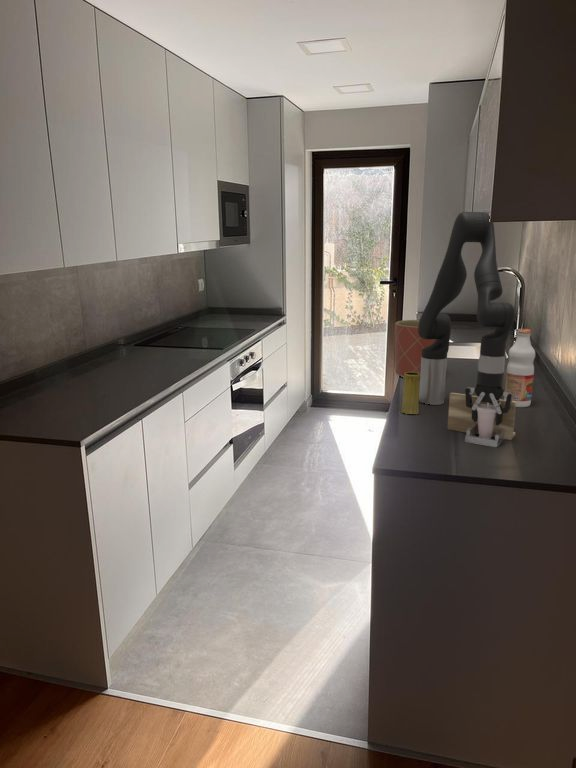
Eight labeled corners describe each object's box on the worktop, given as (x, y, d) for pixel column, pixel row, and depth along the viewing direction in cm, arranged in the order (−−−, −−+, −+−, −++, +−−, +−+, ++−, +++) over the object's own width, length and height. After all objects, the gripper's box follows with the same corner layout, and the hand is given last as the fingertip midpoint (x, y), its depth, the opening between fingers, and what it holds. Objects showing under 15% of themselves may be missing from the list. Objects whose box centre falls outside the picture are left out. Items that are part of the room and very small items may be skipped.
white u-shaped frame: (473, 433, 188) (473, 423, 187) (504, 438, 183) (505, 428, 182) (464, 441, 180) (465, 430, 179) (497, 447, 175) (498, 436, 175)
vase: (416, 409, 213) (418, 371, 210) (420, 414, 207) (422, 375, 204) (399, 410, 213) (401, 371, 209) (403, 415, 207) (405, 375, 203)
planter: (441, 370, 275) (444, 320, 269) (448, 382, 253) (452, 327, 247) (391, 369, 277) (393, 319, 271) (394, 380, 255) (397, 326, 250)
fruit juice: (501, 400, 225) (508, 327, 218) (527, 401, 224) (535, 328, 217) (505, 407, 216) (512, 331, 210) (532, 408, 215) (540, 332, 208)
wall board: (452, 424, 196) (454, 389, 193) (515, 435, 186) (518, 398, 183) (447, 429, 192) (449, 393, 189) (511, 440, 182) (515, 402, 179)
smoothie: (475, 440, 179) (479, 395, 176) (472, 433, 185) (476, 390, 182) (497, 441, 178) (501, 396, 175) (494, 434, 184) (497, 391, 181)
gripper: (518, 370, 176) (513, 423, 180) (470, 364, 183) (466, 416, 188) (513, 375, 170) (507, 430, 174) (463, 369, 177) (459, 422, 181)
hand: (486, 422), depth 181 cm, fingers closed on smoothie, 6 cm apart
